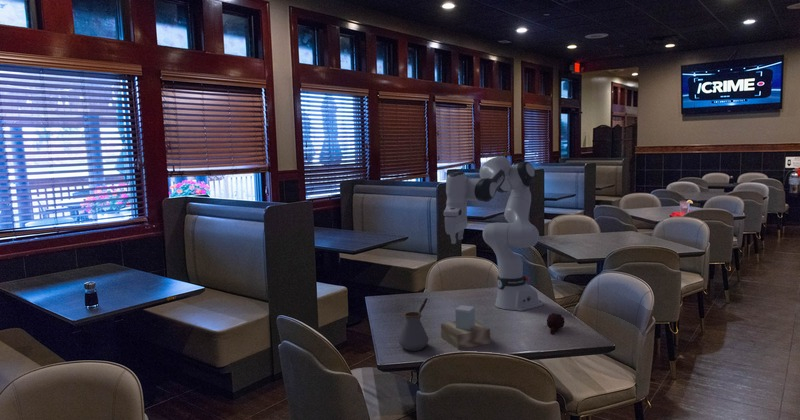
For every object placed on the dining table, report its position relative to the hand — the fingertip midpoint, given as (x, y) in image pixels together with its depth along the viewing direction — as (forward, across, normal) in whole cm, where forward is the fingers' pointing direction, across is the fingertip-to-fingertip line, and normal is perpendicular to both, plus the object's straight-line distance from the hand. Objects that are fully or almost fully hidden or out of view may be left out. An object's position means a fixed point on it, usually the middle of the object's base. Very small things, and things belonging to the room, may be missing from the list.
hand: (457, 241), depth 234 cm
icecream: (+34, +1, +42) cm, 54 cm away
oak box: (+34, +25, +10) cm, 44 cm away
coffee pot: (+34, +33, -6) cm, 48 cm away
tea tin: (+28, +25, +11) cm, 39 cm away
